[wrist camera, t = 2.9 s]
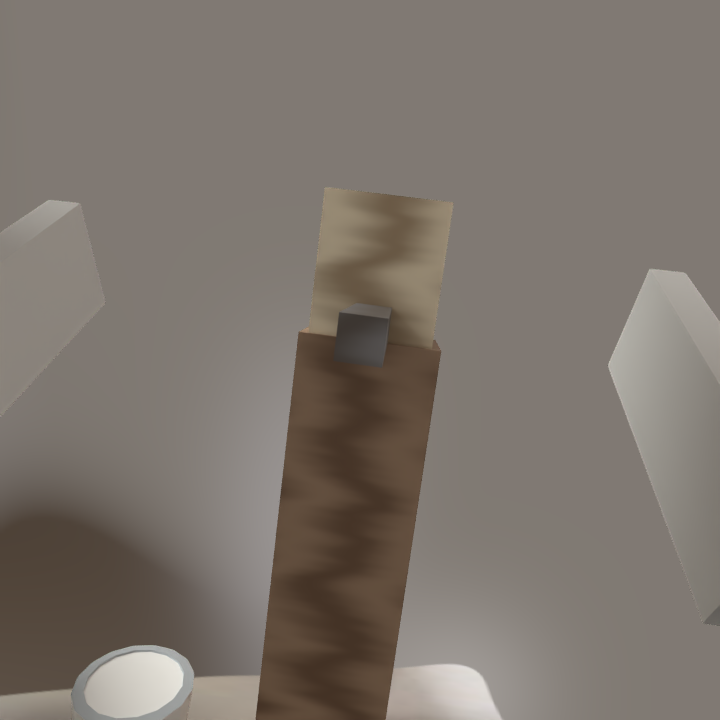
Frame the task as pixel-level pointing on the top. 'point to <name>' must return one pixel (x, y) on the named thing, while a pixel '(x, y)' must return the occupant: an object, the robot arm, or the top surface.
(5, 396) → the robot arm
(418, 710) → the top surface
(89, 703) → the white cup
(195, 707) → the top surface
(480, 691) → the top surface
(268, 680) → the brown wooden tall block
